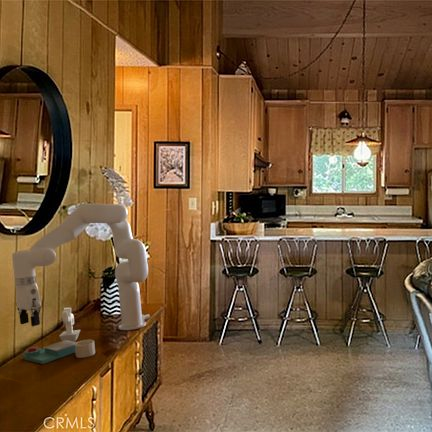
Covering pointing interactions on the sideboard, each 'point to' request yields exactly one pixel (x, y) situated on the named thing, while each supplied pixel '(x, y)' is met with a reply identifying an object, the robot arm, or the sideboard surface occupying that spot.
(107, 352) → the sideboard surface
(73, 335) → the figurine
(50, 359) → the scale
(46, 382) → the sideboard surface
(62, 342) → the weighing plate
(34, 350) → the tare button
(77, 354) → the cup
